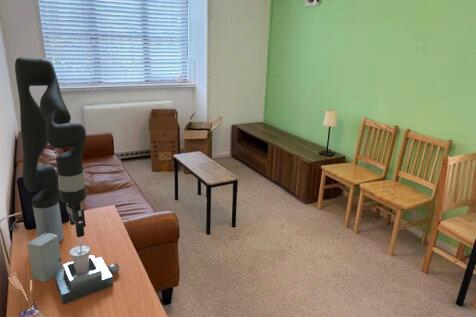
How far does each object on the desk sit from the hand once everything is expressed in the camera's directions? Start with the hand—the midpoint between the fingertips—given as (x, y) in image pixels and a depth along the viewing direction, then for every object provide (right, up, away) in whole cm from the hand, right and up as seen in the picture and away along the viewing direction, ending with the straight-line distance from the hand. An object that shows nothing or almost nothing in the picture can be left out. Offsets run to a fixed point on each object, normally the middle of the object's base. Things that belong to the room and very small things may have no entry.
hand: (77, 230), depth 112 cm
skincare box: (-16, -19, +11) cm, 27 cm away
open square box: (0, -20, +9) cm, 22 cm away
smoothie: (-1, -17, +7) cm, 18 cm away
